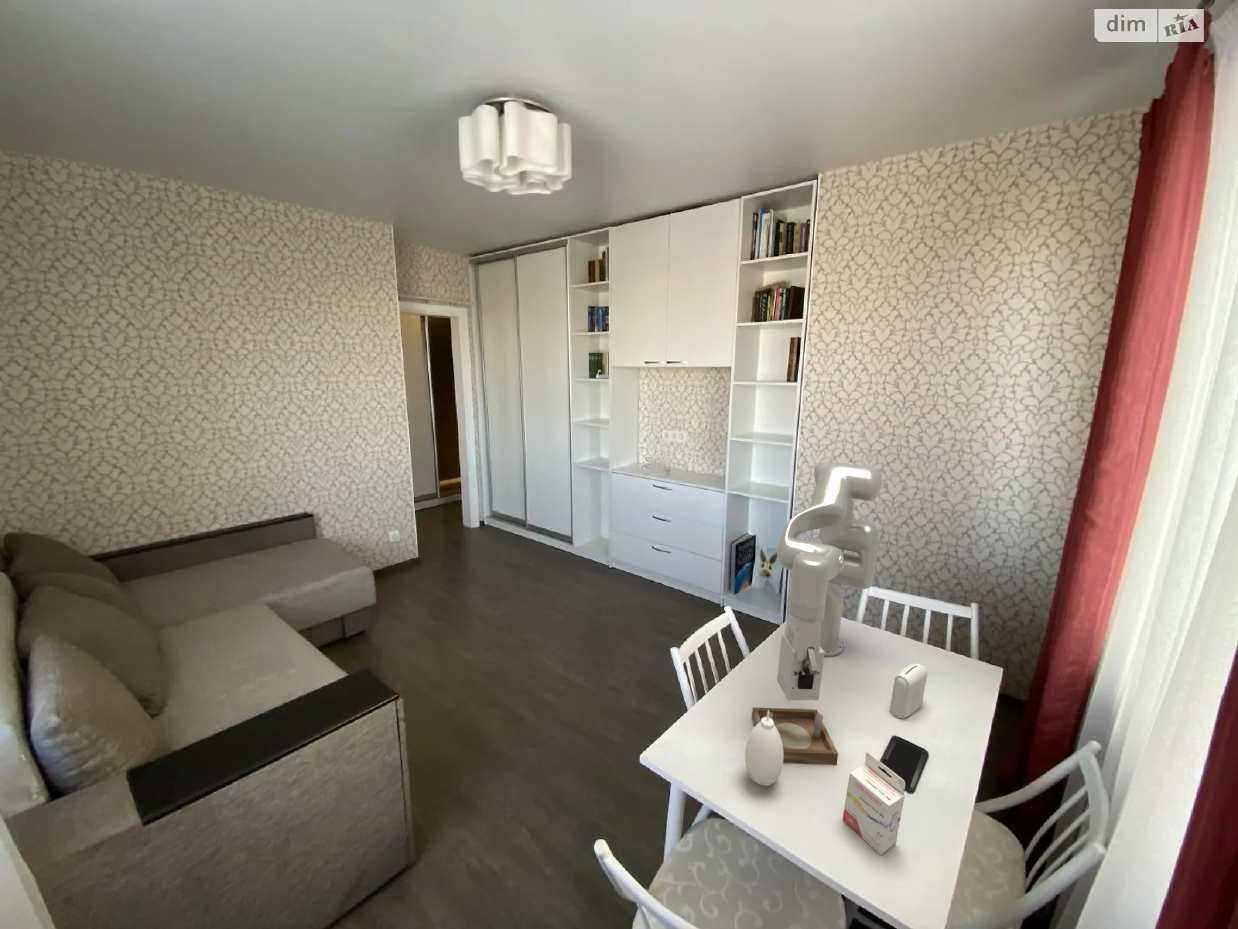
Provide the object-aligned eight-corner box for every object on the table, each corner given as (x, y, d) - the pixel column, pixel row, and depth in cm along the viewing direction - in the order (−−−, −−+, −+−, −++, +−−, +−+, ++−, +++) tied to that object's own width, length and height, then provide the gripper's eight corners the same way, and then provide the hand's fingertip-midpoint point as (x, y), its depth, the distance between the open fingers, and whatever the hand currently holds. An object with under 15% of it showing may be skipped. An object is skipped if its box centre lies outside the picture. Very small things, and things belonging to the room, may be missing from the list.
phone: (929, 751, 117) (913, 792, 106) (929, 755, 117) (912, 796, 106) (892, 733, 122) (873, 771, 111) (892, 737, 122) (872, 775, 112)
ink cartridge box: (841, 820, 101) (849, 758, 97) (856, 809, 103) (866, 749, 100) (881, 857, 93) (892, 792, 90) (897, 844, 96) (908, 781, 92)
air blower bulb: (750, 760, 115) (756, 692, 110) (785, 776, 111) (792, 706, 106) (738, 784, 108) (743, 713, 104) (774, 803, 104) (782, 729, 100)
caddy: (751, 717, 128) (753, 693, 126) (815, 719, 127) (818, 695, 126) (765, 762, 114) (767, 736, 113) (836, 764, 114) (840, 738, 112)
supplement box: (787, 702, 114) (792, 653, 111) (776, 680, 121) (780, 633, 118) (819, 701, 114) (825, 652, 111) (806, 680, 121) (812, 633, 118)
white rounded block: (907, 697, 136) (914, 656, 133) (924, 706, 133) (931, 665, 130) (886, 711, 130) (893, 670, 128) (903, 722, 127) (910, 679, 124)
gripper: (778, 588, 121) (772, 653, 125) (801, 629, 104) (793, 702, 108) (810, 589, 121) (803, 654, 125) (838, 630, 104) (829, 703, 108)
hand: (798, 676), depth 117 cm, fingers closed on supplement box, 7 cm apart
